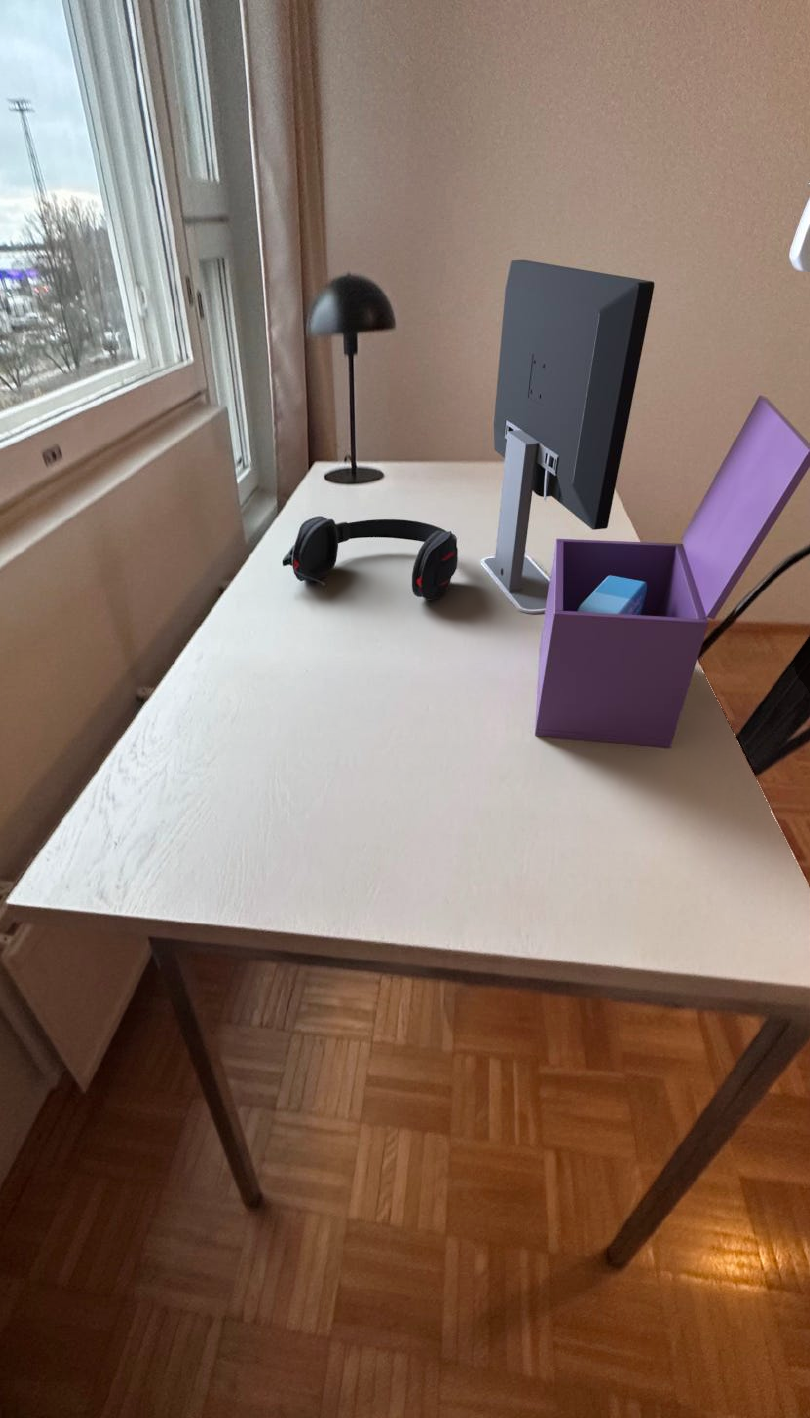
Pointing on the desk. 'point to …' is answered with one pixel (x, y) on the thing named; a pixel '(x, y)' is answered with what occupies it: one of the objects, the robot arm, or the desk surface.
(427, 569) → the headset
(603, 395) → the computer monitor
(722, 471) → the lid
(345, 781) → the desk surface
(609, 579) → the light blue rounded block
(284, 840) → the desk surface
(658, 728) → the file box
